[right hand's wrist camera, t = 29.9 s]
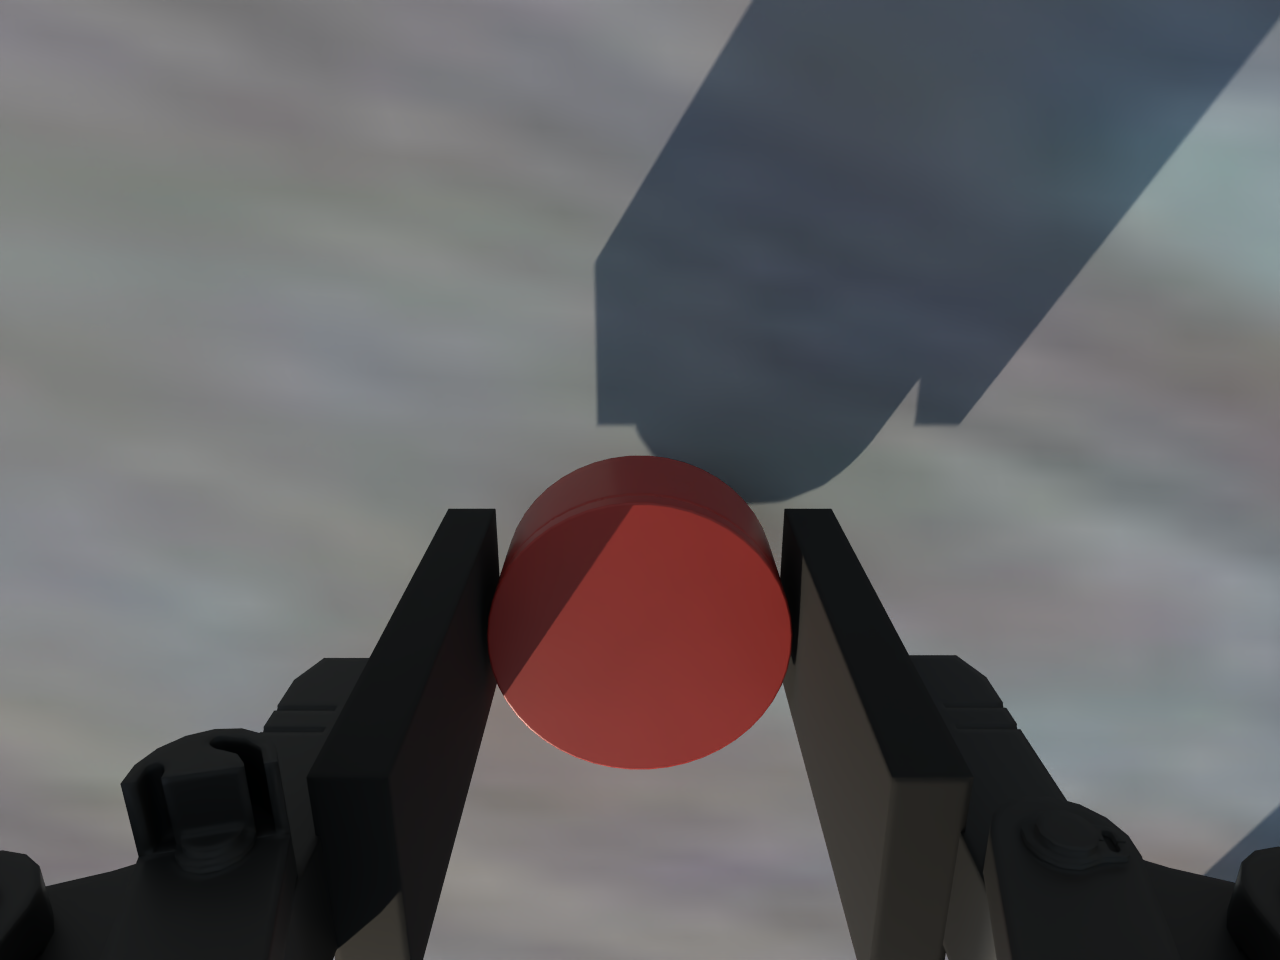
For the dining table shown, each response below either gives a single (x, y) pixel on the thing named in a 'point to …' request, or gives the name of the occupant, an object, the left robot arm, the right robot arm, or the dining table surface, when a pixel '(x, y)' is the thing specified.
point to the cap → (639, 615)
